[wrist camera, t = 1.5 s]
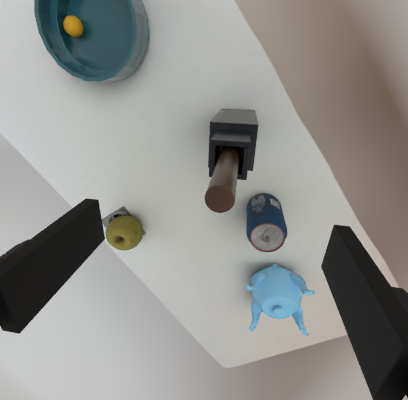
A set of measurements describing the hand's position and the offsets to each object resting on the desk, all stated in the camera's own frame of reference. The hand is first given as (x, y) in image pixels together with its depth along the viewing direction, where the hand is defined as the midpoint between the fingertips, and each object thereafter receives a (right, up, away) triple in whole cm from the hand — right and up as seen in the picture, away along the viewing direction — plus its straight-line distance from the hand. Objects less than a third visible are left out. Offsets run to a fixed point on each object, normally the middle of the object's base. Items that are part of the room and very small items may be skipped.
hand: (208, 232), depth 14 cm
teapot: (+17, -17, +46) cm, 52 cm away
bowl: (-17, +31, +29) cm, 46 cm away
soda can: (+12, +1, +39) cm, 41 cm away
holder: (+6, +15, +32) cm, 36 cm away
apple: (-18, -4, +46) cm, 49 cm away
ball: (-22, +31, +27) cm, 47 cm away
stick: (+3, +9, +18) cm, 21 cm away
